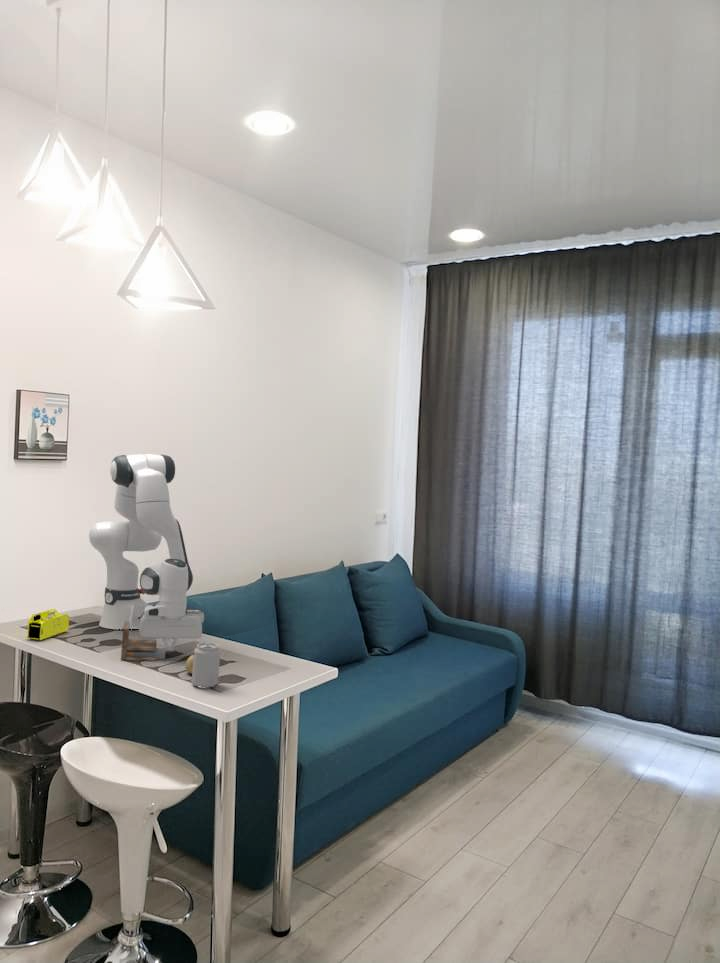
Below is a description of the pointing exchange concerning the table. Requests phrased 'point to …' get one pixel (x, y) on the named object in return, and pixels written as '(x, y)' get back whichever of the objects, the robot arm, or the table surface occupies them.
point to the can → (206, 665)
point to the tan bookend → (135, 645)
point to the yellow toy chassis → (47, 624)
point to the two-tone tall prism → (147, 653)
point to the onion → (190, 663)
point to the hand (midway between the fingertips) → (169, 651)
